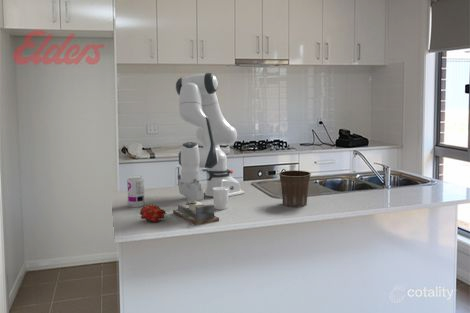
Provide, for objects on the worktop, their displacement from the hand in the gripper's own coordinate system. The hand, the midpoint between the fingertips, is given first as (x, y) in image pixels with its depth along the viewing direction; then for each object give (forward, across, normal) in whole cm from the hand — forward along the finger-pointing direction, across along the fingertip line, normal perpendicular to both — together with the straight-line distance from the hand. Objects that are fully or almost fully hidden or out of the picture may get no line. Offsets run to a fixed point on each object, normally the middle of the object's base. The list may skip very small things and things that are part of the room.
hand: (191, 206), depth 221 cm
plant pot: (+4, -9, -53) cm, 54 cm away
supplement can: (+4, +32, +16) cm, 36 cm away
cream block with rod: (+3, -5, +1) cm, 6 cm away
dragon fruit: (+4, 0, +19) cm, 19 cm away
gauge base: (+4, -4, 0) cm, 5 cm away
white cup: (+4, +4, -18) cm, 19 cm away
